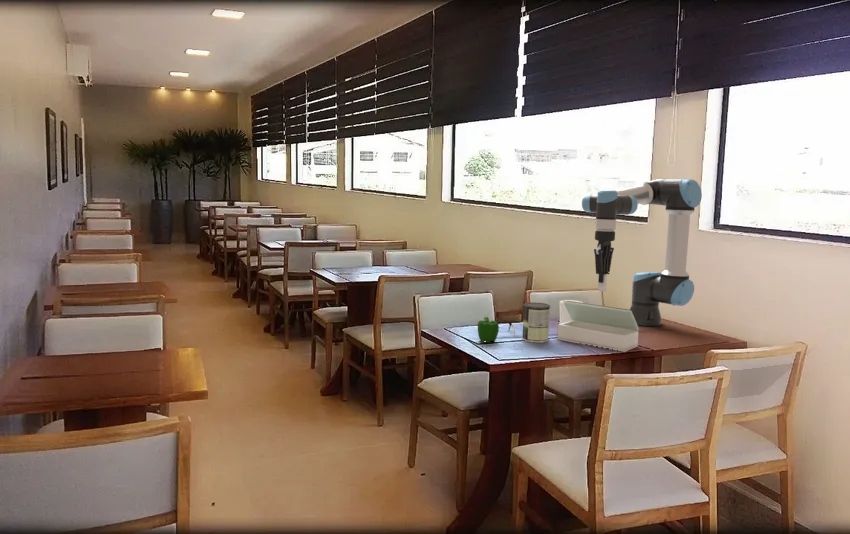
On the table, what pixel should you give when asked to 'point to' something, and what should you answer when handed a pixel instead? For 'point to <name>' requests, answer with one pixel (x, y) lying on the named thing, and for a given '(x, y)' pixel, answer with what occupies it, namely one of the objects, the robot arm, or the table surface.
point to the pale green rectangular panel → (601, 315)
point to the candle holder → (565, 312)
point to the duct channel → (598, 335)
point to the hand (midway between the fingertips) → (601, 290)
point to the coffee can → (536, 322)
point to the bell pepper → (488, 330)
